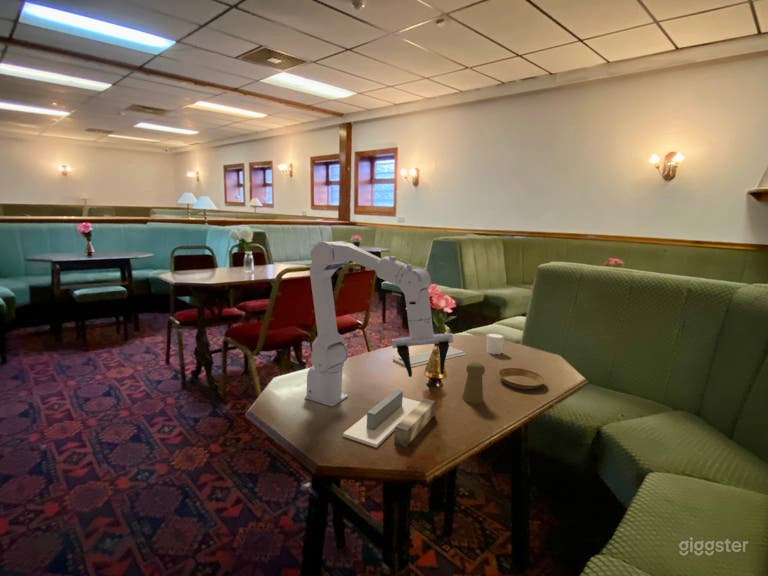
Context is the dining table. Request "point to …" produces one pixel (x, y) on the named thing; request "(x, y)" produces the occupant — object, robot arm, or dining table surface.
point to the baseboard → (423, 357)
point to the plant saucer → (514, 372)
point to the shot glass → (494, 343)
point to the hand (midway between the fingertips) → (426, 374)
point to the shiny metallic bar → (414, 422)
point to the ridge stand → (381, 419)
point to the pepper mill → (474, 383)
